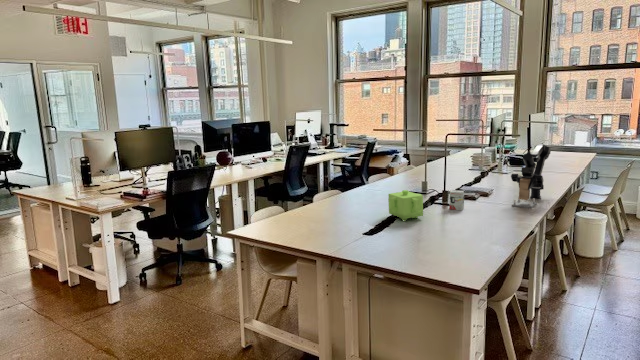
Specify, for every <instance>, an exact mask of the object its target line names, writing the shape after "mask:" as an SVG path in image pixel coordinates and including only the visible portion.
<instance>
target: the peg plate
mask: <svg viewBox="0 0 640 360" xmlns="http://www.w3.org/2000/svg"><path fill="white" fill-rule="evenodd" d="M537 205H538V204H537V202H536V198H532V201H530V200H529V201H522V200H521V199H519V196H518V197H517V200H516V199H513V203H512V204H511V207H515V208H525V209H526V208H527V209H533V208H534V207H535V206H537Z"/></svg>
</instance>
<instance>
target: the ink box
mask: <svg viewBox="0 0 640 360" xmlns="http://www.w3.org/2000/svg"><path fill="white" fill-rule="evenodd" d="M448 199H449V203H448V204H449V209H448V210H455V211H463V210H464V209H465V191H464V190H458V189H456V190H455V189H452V190H450V191H449V198H448Z"/></svg>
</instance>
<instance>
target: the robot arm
mask: <svg viewBox="0 0 640 360" xmlns="http://www.w3.org/2000/svg"><path fill="white" fill-rule="evenodd" d="M550 155H551V148H550V147H549V146H547V145H546V144H543V143H540V144H539V143H538V144H536V147H535V148H534V149H533V150H532V151H530V152H529V151H527V152H526V153H525V154H524V155H523V156H522V160H523V164H524V165H525V166H523V167H521V172H520V173H521V175H520V174H518V173H512V174H510V178H511V181H512V182H516V183H517V184H518V188H519V187H520V179H522V178H527V179H531V180H530V184H529V187H528V190H529V189H530V196H529V199H533V198H535V199H541V197H542V196H541V191H542V190H544V188H545V187H544V186H545V185H544V177H543V175H542V173H543V169H544V166H545V161H546V160H548V158H549V156H550Z"/></svg>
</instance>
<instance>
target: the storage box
mask: <svg viewBox="0 0 640 360" xmlns="http://www.w3.org/2000/svg"><path fill="white" fill-rule="evenodd" d="M387 196H388V213H389V215H392V216H393V217H394V216H397V217H399V218H398V219H400V220H401V219H402V220H407V221H408V219H413V218H418V217H424V196H423V194H421V193H415V192H412V191H409V190H407V189H406V190H405V189H404V190H402V191H399V192H392V193H388V195H387ZM418 219H419V218H418Z"/></svg>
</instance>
